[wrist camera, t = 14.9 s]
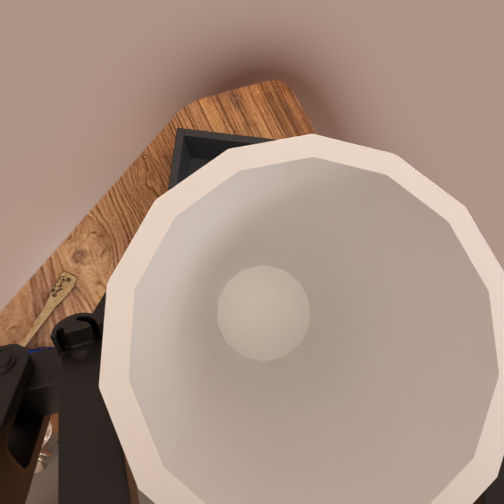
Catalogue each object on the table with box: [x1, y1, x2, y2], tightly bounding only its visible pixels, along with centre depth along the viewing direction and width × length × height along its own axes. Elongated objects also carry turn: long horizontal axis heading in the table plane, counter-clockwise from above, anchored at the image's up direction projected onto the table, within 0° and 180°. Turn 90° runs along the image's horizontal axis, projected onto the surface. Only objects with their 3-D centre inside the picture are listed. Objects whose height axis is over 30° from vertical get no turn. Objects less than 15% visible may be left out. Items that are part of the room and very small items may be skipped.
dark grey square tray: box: [168, 128, 275, 191], centre depth 34 cm, size 15×15×6 cm
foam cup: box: [99, 134, 504, 504], centre depth 13 cm, size 10×9×13 cm
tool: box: [19, 272, 76, 347], centre depth 32 cm, size 14×1×2 cm
